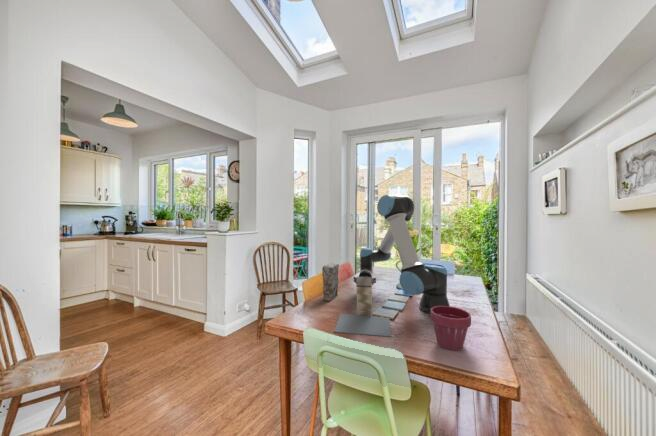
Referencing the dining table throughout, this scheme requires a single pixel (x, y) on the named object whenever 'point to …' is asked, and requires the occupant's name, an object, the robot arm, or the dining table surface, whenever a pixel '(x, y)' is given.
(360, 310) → the birch block
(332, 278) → the stone block
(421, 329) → the dining table surface
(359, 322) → the slate mat
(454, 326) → the plant pot
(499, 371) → the dining table surface
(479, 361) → the dining table surface
